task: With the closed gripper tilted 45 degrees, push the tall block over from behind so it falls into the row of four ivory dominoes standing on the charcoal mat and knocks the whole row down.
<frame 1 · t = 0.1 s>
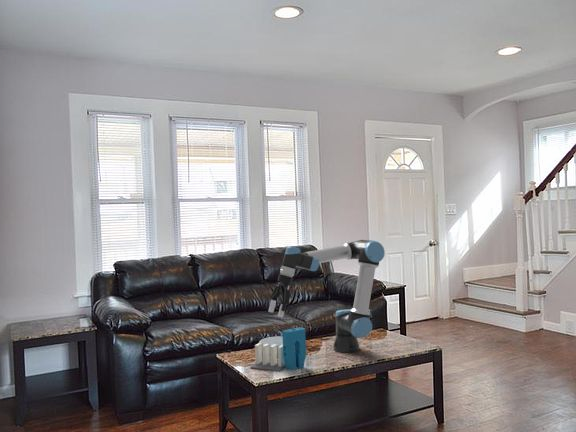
hand: (275, 314, 268), 28 cm above the table, tool tilted 20°, fingers open, 13 cm apart
block: (295, 368, 267), on the table
domino 3: (266, 363, 273), point 1 cm above the table, touching domino mat
domino 4: (258, 362, 275), point 1 cm above the table, touching domino mat
domino 2: (274, 364, 272), point 1 cm above the table, touching domino mat
domino mat: (271, 365, 272), on the table
domino 1: (281, 365, 270), point 1 cm above the table, touching domino mat
serving bowl: (277, 352, 297), on the table
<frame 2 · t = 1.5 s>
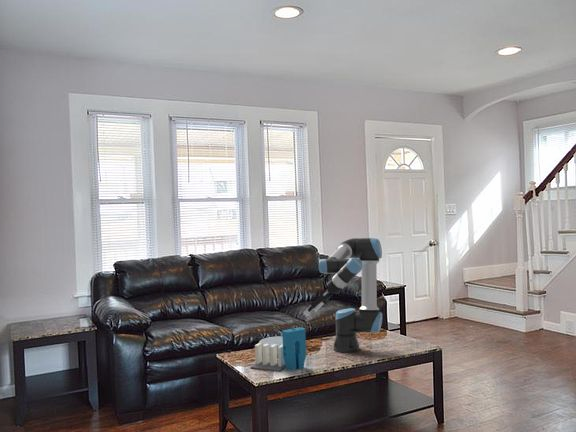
hand: (309, 312, 263), 29 cm above the table, tool tilted 45°, fingers open, 12 cm apart
nothing on the table moved.
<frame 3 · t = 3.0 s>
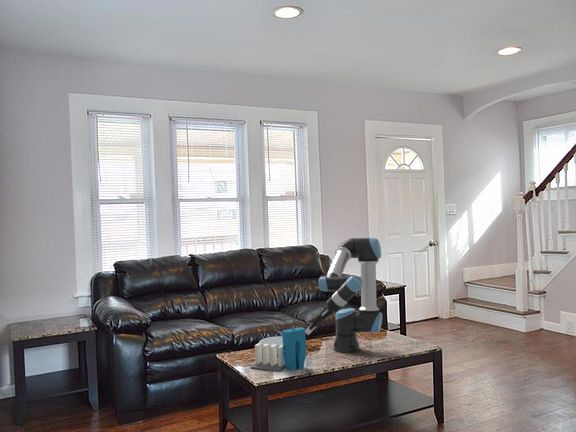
hand: (306, 332, 263), 19 cm above the table, tool tilted 45°, fingers closed
nothing on the table moved.
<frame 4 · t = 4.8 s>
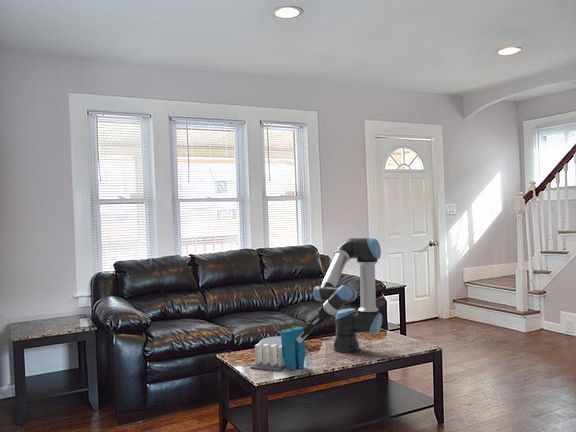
hand: (298, 340, 265), 15 cm above the table, tool tilted 45°, fingers closed
block: (295, 368, 267), on the table, touching gripper
everything else where it was.
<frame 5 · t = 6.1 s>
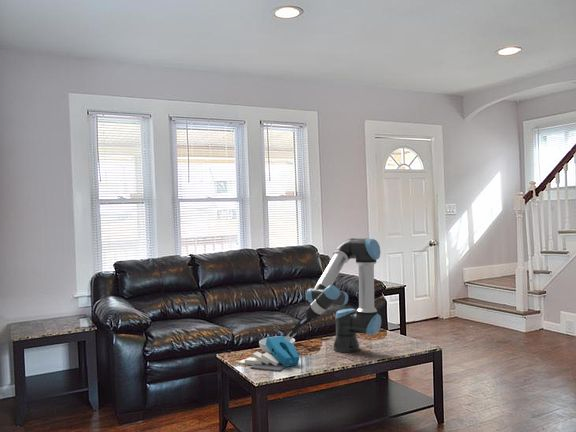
hand: (286, 339, 268), 15 cm above the table, tool tilted 45°, fingers closed
block: (292, 361, 268), point 3 cm above the table, touching serving bowl
domino 3: (263, 361, 274), point 2 cm above the table, tilted 90°, touching domino mat, domino 2
domino 4: (256, 364, 276), on the table, tilted 90°
domino 2: (270, 362, 273), point 2 cm above the table, tilted 69°, touching domino 1, domino 3
domino 1: (278, 363, 270), point 2 cm above the table, tilted 69°, touching domino mat, domino 2
serving bowl: (277, 352, 297), on the table, touching block
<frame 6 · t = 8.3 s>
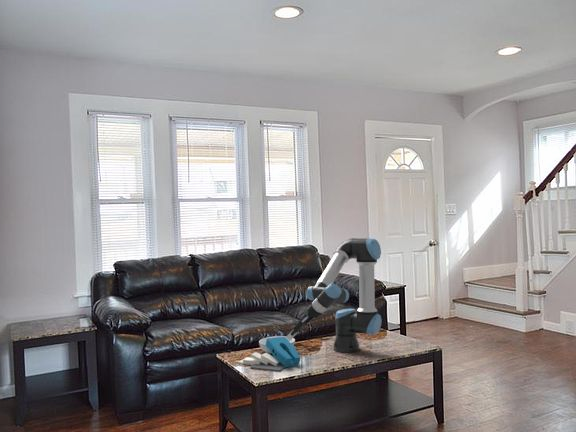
hand: (288, 338, 268), 15 cm above the table, tool tilted 45°, fingers closed
block: (292, 362, 268), point 3 cm above the table, touching domino 1
domino 3: (261, 361, 274), point 2 cm above the table, tilted 90°, touching domino mat, domino 2, domino 4
domino 4: (256, 364, 276), on the table, tilted 90°, touching domino 3
domino 2: (269, 362, 273), point 2 cm above the table, tilted 71°, touching domino 3
domino 1: (278, 363, 271), point 2 cm above the table, tilted 71°, touching block, domino mat
serving bowl: (277, 352, 298), on the table
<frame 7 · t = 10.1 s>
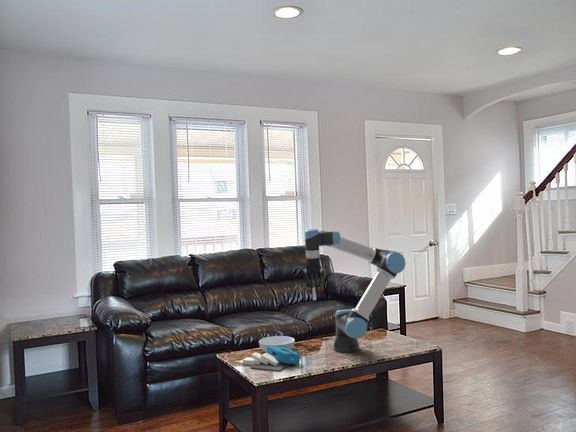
hand: (314, 299, 283), 32 cm above the table, tool pointing down, fingers closed
block: (293, 359, 268), point 4 cm above the table, touching domino mat, domino 1
domino 2: (269, 362, 273), point 2 cm above the table, tilted 71°, touching domino 1, domino 3
domino 1: (278, 363, 271), point 2 cm above the table, tilted 71°, touching block, domino mat, domino 2
everything else where it was.
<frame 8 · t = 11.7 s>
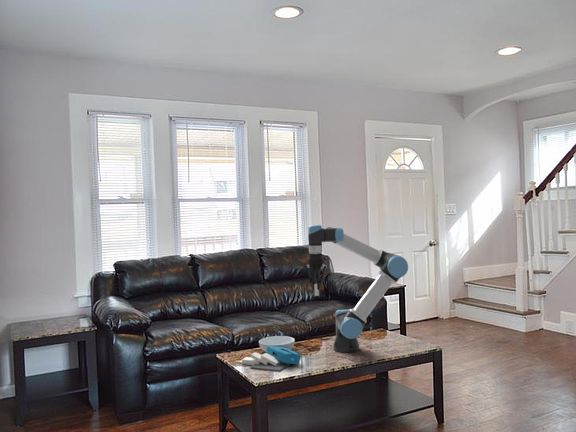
hand: (316, 295, 284), 34 cm above the table, tool pointing down, fingers closed
domino 2: (268, 362, 273), point 2 cm above the table, tilted 70°, touching domino mat, domino 3
domino 1: (278, 363, 271), point 2 cm above the table, tilted 72°, touching block, domino mat
at the end: domino 4 tilted 90°; block tilted 92° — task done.
